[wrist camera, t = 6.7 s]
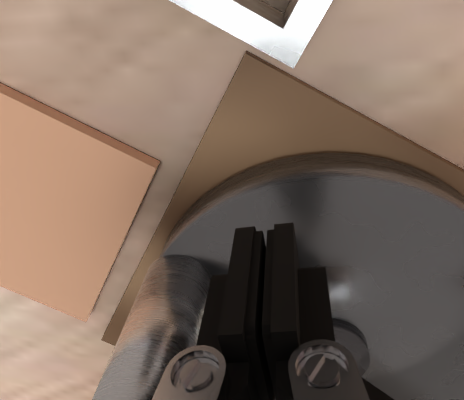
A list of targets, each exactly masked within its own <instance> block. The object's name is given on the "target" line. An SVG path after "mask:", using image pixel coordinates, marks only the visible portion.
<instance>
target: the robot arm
mask: <svg viewBox="0 0 464 400" xmlns="http://www.w3.org/2000/svg"><path fill="white" fill-rule="evenodd" d="M275 399H276V400H394V399H393V398H391V397H390V396H388V395H387V394H386V393H384V392H383V391H381V390H380V389H378V388H377V387H375V386H374V385H373V384H371V383H370V382H368V381H367V380H365V379H364V378H362V377H361V375H360V372H359V369H358V366H357V364H356V361H355V359H354V357H353V355H352V354H351V352H350V351H349V350H348V349H347V348H346V347H344V346H343V345H341V344H339V343H337V342H335V336H334V329H333V321H332V313H331V305H330V298H329V290H328V282H327V274H326V267H325V266H321V267H309V268H300V265H299V257H298V250H297V243H296V236H295V229H294V223H293V222H292V223H282V224H274V229H273V230H267V241H266V245H265V239H264V234H263V231H256V228H255V226H252V227H242V228H236V229H235V233H234V239H233V245H232V251H231V257H230V263H229V269H228V274H221V275H213V276H212V277H211V280H210V284H209V289H208V294H207V298H206V303H205V307H204V312H203V316H202V321H201V326H200V330H199V335H198V339H197V344H196V346H193V347H189V348H186V349H184V350H183V351H181V352H179V353H178V354H177V355H175V356H174V357H173V358H172V359H171V360H170V362H169V364H168V365H167V367H166V369H165V371H164V373H163V375H162V378H161V380H160V382H159V384H158V386H157V389H156V391H155V393H154V395H153V396H152V397H151V398H150V399H148V400H275Z"/></svg>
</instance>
